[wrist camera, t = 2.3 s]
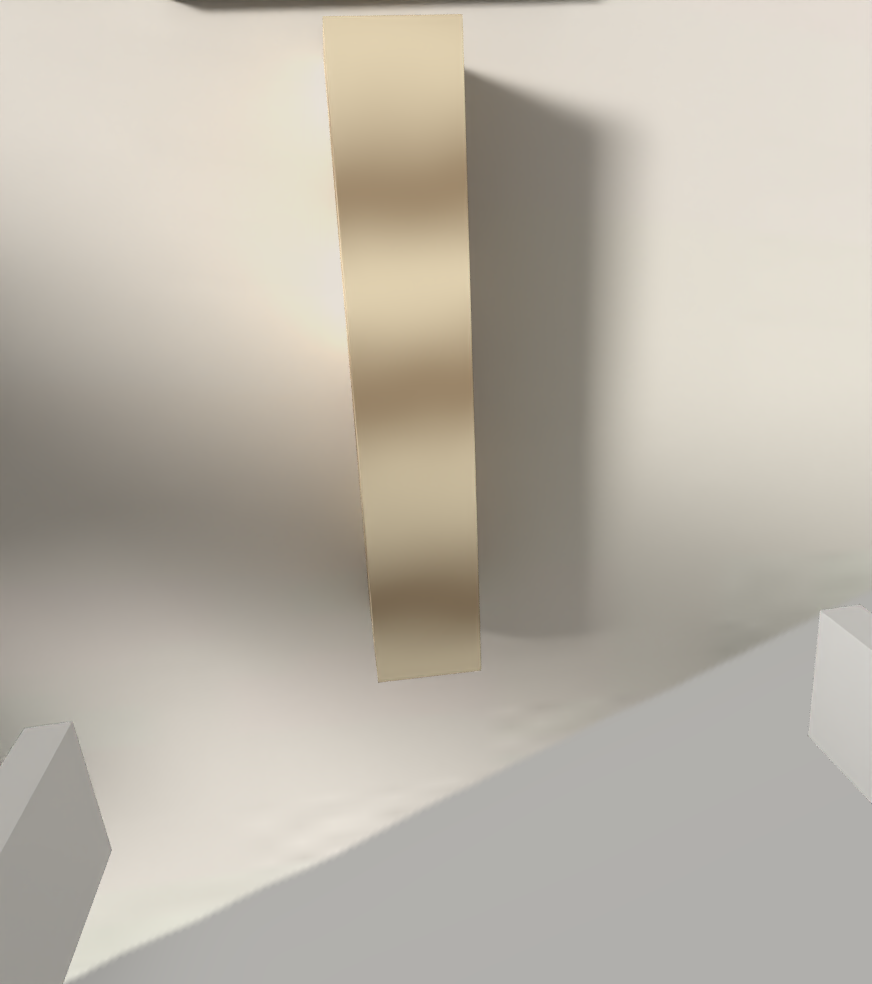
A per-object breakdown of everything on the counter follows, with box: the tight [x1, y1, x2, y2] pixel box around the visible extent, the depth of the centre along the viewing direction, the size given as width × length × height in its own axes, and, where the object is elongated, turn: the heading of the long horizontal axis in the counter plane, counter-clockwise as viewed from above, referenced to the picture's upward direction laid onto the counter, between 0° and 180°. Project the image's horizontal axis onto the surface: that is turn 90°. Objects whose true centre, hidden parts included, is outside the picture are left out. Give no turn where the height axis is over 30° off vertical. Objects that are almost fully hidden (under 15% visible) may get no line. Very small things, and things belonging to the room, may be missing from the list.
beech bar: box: [323, 14, 481, 683], centre depth 28 cm, size 22×4×6 cm, turn 3°
